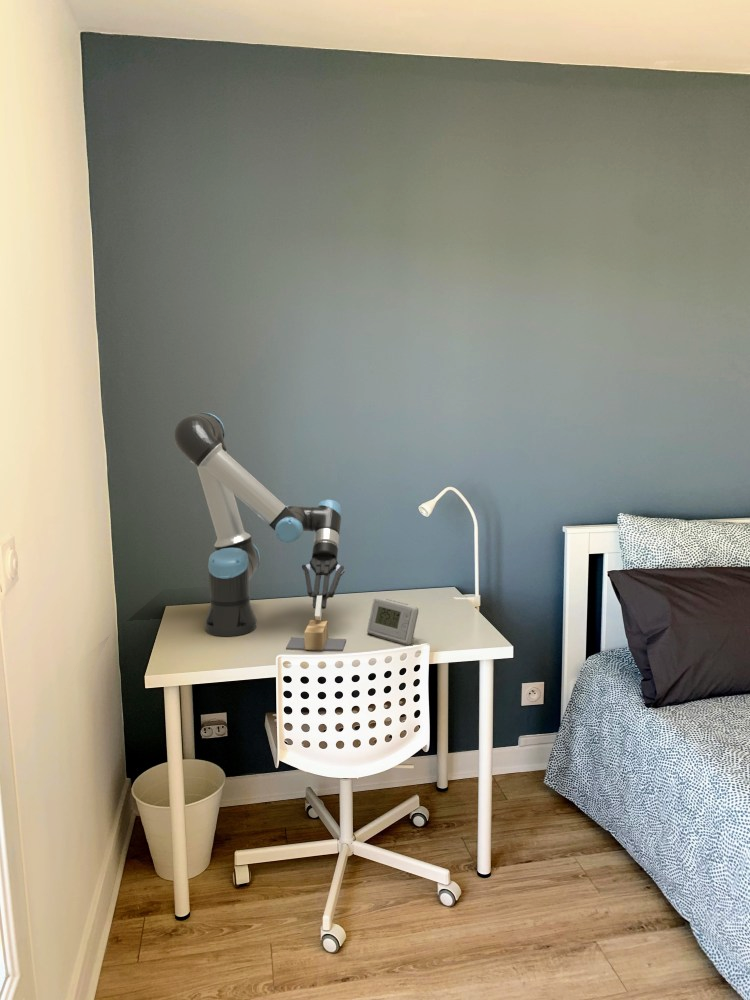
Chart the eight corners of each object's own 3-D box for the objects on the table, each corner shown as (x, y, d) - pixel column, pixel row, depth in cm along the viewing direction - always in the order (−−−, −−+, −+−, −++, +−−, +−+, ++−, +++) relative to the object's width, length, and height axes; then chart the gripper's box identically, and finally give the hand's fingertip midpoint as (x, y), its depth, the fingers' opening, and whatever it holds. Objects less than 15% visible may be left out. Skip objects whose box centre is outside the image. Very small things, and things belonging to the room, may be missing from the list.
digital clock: (364, 633, 228) (363, 599, 226) (387, 626, 234) (387, 593, 232) (400, 649, 216) (400, 613, 214) (423, 641, 222) (424, 606, 220)
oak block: (310, 636, 225) (304, 649, 215) (310, 619, 224) (304, 632, 214) (327, 636, 224) (322, 649, 215) (327, 620, 224) (322, 632, 214)
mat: (285, 649, 216) (285, 647, 216) (291, 638, 224) (291, 637, 224) (342, 651, 215) (342, 649, 215) (346, 640, 223) (346, 638, 223)
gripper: (348, 553, 236) (341, 624, 223) (306, 552, 238) (297, 623, 225) (345, 541, 230) (339, 613, 217) (302, 540, 231) (293, 611, 218)
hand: (317, 618), depth 221 cm, fingers closed
